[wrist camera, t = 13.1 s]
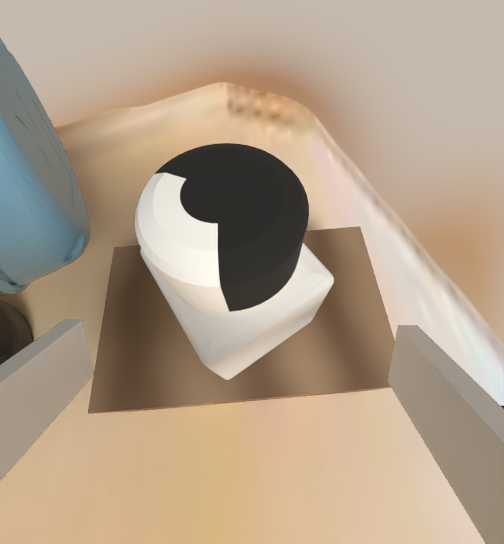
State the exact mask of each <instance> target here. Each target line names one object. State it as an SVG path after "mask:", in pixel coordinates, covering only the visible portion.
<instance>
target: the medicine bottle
mask: <svg viewBox="0 0 504 544" xmlns="http://www.w3.org/2000/svg"><path fill="white" fill-rule="evenodd" d="M308 217H309V204H308V199H307V195H306V192H305V190H304V187H303V185H302V183H301V182H300V180H299V178H298V177H297V176H296V175H295V173H294V172H293V171H292V170H291V169H290V168H289V167H288V166H286V165H285V164H284V163H283V162H282V161H281V160H279V159H278V158H276V157H275V156H273V155H271V154H270V153H268V152H266V151H263V150H261V149H258V148H255V147H251V146H247V145H241V144H230V143H223V144H212V145H206V146H202V147H198V148H195V149H192V150H189V151H186V152H184V153H182V154H180V155H178V156H176V157H175V158H173V159H171V160H170V161H168V162H167V163H166V164H165V165H163V166H162V167H161V168H160V169H159V170H158V171H157V172H156V173H155V174H154V175H153V176H152V178H151V179H150V180H149V181H148V183H147V185H146V187H145V188H144V190H143V192H142V194H141V196H140V198H139V201H138V203H137V207H136V212H135V231H136V236H137V239H138V242H139V244H140V246H141V250H140V253H141V256H142V258H143V260H144V261H145V263H146V265H147V267H148V268H149V270H150V272H151V274H152V275H153V277H154V279H155V281H156V282H157V284H158V286H159V288H160V289H161V291H162V293H163V295H164V296H165V298H166V300H167V302H168V303H169V305H170V307H171V309H172V310H173V312H174V314H175V316H176V317H177V319H178V321H179V323H180V324H181V326H182V328H183V330H184V331H185V333H186V335H187V337H188V338H189V340H190V342H191V344H192V345H193V347H194V349H195V351H196V352H197V354H198V356H199V358H200V359H201V361H202V363H203V364H204V365H205V366H206V367H207V368H209V369H210V370H212V371H213V372H215V373H216V374H218V375H219V376H221V377H222V378H224V379H225V380H229V379H231V378H233V377H234V376H236V375H237V374H238V373H240V372H241V371H243V370H244V369H245V368H247V367H248V366H250V365H251V364H252V363H254V362H255V361H257V360H258V359H259V358H261V357H262V356H264V355H265V354H266V353H268V352H269V351H271V350H272V349H273V348H275V347H276V346H278V345H279V344H280V343H282V342H283V341H285V340H286V339H287V338H289V337H290V336H292V335H293V334H294V333H296V332H297V331H299V330H300V329H301V328H303V327H304V326H306V325H307V324H309V323H310V322H311V321H312V319H313V317H314V316H315V314H316V312H317V310H318V309H319V307H320V305H321V304H322V302H323V300H324V299H325V297H326V295H327V293H328V292H329V290H330V288H331V287H332V285H333V283H334V277H333V275H332V274H331V273H330V272H329V271H328V270H327V269H326V267H325V266H324V265H323V264H322V263H321V262H320V261H319V260H318V259H317V257H316V256H315V255H314V254H313V253H312V252H311V251H310V250H309V249H308V247H307V246H306V245H305V244H304V243H303V240H304V236H305V232H306V228H307V223H308Z"/></svg>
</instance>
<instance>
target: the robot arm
mask: <svg viewBox="0 0 504 544" xmlns="http://www.w3.org/2000/svg"><path fill="white" fill-rule="evenodd" d="M89 236H90V222H89V216H88V211H87V207H86V203H85V200H84V197H83V194H82V191H81V188H80V185H79V183H78V180H77V177H76V175H75V173H74V170H73V168H72V165H71V163H70V161H69V158H68V156H67V154H66V152H65V150H64V147H63V145H62V143H61V141H60V139H59V137H58V135H57V133H56V131H55V129H54V127H53V125H52V123H51V121H50V119H49V117H48V115H47V113H46V111H45V109H44V107H43V106H42V104H41V102H40V100H39V98H38V96H37V95H36V93H35V91H34V89H33V88H32V86H31V84H30V82H29V80H28V79H27V77H26V75H25V74H24V72H23V70H22V69H21V67H20V66H19V64H18V62H17V61H16V59H15V58H14V56H13V55H12V54H11V53H10V52H9V51H8V50H7V48H6V46H5V45H4V43H3V42H2V40H1V38H0V296H1V295H3V294H5V293H6V294H8V293H9V294H15V293H19V292H21V291H23V290H25V288H26V287H27V286H28V285H29V284H30V283H31V282H33V281H35V280H37V279H39V278H41V277H43V276H45V275H47V274H49V273H51V272H53V271H55V270H57V269H59V268H62V267H64V266H66V265H68V264H70V263H71V262H73V261H74V260H76V259H77V258H78V257H79V256H80V255H81V254H82V253H83V251H84V250H85V248H86V246H87V244H88V241H89ZM93 375H94V370H93V366H92V361H91V357H90V353H89V348H88V344H87V340H86V335H85V331H84V327H83V322H82V320H64V321H62V322H61V323H59V324H58V325H56V326H55V327H54V328H52V329H51V330H49V331H48V332H46V333H45V334H44V335H42V336H41V337H39V338H38V339H37V340H35V341H34V342H33V341H32V335H31V331H30V328H29V325H28V323H27V321H26V320H25V318H24V317H23V315H22V314H21V313H20V312H19V311H18V310H17V309H16V308H14V307H13V306H11V305H9V304H7V303H5V302H2V301H0V481H1V480H2V479H3V478H4V477H5V476H6V474H7V473H8V472H9V471H10V470H11V469H12V468H13V466H14V465H15V464H16V463H17V462H18V461H19V460H20V458H21V457H22V456H23V455H24V454H25V453H26V452H27V450H28V449H29V448H30V447H31V446H32V445H33V443H34V442H35V441H36V440H37V439H38V438H39V437H40V435H41V434H42V433H43V432H44V431H45V430H46V429H47V427H48V426H49V425H50V424H51V423H52V422H53V421H54V419H55V418H56V417H57V416H58V415H59V414H60V413H61V411H62V410H63V409H64V408H65V407H66V406H67V405H68V403H69V402H70V401H71V400H72V399H73V398H74V397H75V395H76V394H77V393H78V392H79V391H80V390H81V389H82V387H83V386H84V385H85V384H86V383H87V382H88V381H89V379H90V378H91V377H92V376H93ZM388 383H389V384H390V386H391V388H392V389H393V391H394V393H395V394H396V396H397V398H398V399H399V401H400V403H401V404H402V406H403V408H404V409H405V411H406V413H407V414H408V416H409V418H410V419H411V421H412V423H413V424H414V426H415V427H416V429H417V431H418V432H419V434H420V436H421V437H422V439H423V441H424V442H425V444H426V446H427V447H428V449H429V451H430V452H431V454H432V456H433V457H434V459H435V461H436V462H437V464H438V466H439V467H440V469H441V471H442V472H443V474H444V475H445V477H446V479H447V480H448V482H449V484H450V485H451V487H452V489H453V490H454V492H455V494H456V495H457V497H458V499H459V500H460V502H461V504H462V505H463V507H464V509H465V510H466V512H467V514H468V515H469V517H470V519H471V520H472V522H473V523H474V525H475V527H476V528H477V530H478V532H479V533H480V535H481V537H482V538H483V540H484V542H485V543H486V544H504V406H500V405H499V404H498V403H497V402H496V401H495V400H494V399H493V398H492V397H491V396H490V395H489V394H488V393H487V392H486V391H485V390H484V389H483V388H481V387H480V386H479V385H478V384H477V383H476V382H475V381H474V380H473V379H472V378H471V377H470V376H469V375H468V374H467V373H466V372H465V371H464V370H463V369H462V368H461V367H460V366H459V365H458V364H457V363H456V362H455V361H454V360H452V359H451V358H450V357H449V356H448V355H447V354H446V353H445V352H444V351H443V350H442V349H441V348H440V347H439V346H438V345H437V344H436V343H435V342H434V341H433V340H432V339H431V338H430V337H429V336H428V335H427V334H426V333H425V332H424V331H422V330H421V329H420V328H419V327H418V326H409V325H398V328H397V333H396V339H395V344H394V349H393V355H392V360H391V366H390V371H389V376H388Z"/></svg>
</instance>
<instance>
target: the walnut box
mask: <svg viewBox="0 0 504 544" xmlns="http://www.w3.org/2000/svg"><path fill="white" fill-rule="evenodd" d="M303 243H304V244H305V245H306V246H307V247H308V249H309V250H310V251H311V252H312V253H313V254H314V255H315V256H316V257H317V259H318V260H319V261H320V262H321V263H322V264H323V265H324V266H325V267H326V269H327V270H328V271H329V272H330V273H331V274H332V275H333V277H334V283H333V285H332V287H331V288H330V290H329V292H328V293H327V295H326V297H325V299H324V300H323V302H322V304H321V305H320V307H319V309H318V310H317V312H316V314H315V316H314V317H313V319H312V321H311V322H310V323H309V324H307V325H306V326H304V327H303V328H301V329H300V330H299V331H297V332H296V333H294V334H293V335H292V336H290V337H289V338H287V339H286V340H285V341H283V342H282V343H280V344H279V345H278V346H276V347H275V348H273V349H272V350H271V351H269V352H268V353H266V354H265V355H264V356H262V357H261V358H259V359H258V360H257V361H255V362H254V363H252V364H251V365H250V366H248V367H247V368H245V369H244V370H243V371H241V372H240V373H238V374H237V375H236V376H234V377H233V378H231V379H229V380H225V379H224V378H222V377H221V376H219V375H218V374H216V373H215V372H213V371H212V370H210V369H209V368H207V367H206V366H205V365H204V364H203V363H202V361H201V359H200V358H199V356H198V354H197V352H196V351H195V349H194V347H193V345H192V344H191V342H190V340H189V338H188V337H187V335H186V333H185V331H184V330H183V328H182V326H181V324H180V323H179V321H178V319H177V317H176V316H175V314H174V312H173V310H172V309H171V307H170V305H169V303H168V302H167V300H166V298H165V296H164V295H163V293H162V291H161V289H160V288H159V286H158V284H157V282H156V281H155V279H154V277H153V275H152V274H151V272H150V270H149V268H148V267H147V265H146V263H145V261H144V260H143V258H142V256H141V253H140V250H141V246H140V245H139V246H127V247H115V248H114V254H113V260H112V266H111V272H110V278H109V285H108V291H107V297H106V303H105V309H104V316H103V322H102V328H101V334H100V341H99V347H98V353H97V359H96V365H95V372H94V378H93V384H92V390H91V396H90V403H89V409H88V413H108V412H128V411H142V410H153V409H165V408H176V407H187V406H198V405H210V404H221V403H232V402H244V401H255V400H266V399H278V398H289V397H300V396H312V395H323V394H334V393H345V392H357V391H368V390H376V389H383V388H391V386H390V384H389V383H388V376H389V371H390V366H391V360H392V355H393V349H394V344H395V341H394V337H393V334H392V331H391V327H390V324H389V321H388V317H387V314H386V311H385V308H384V304H383V301H382V298H381V294H380V291H379V288H378V285H377V281H376V278H375V275H374V271H373V268H372V265H371V261H370V258H369V255H368V252H367V248H366V245H365V242H364V238H363V235H362V232H361V228H360V227H348V228H337V229H325V230H313V231H306V232H305V236H304V240H303Z"/></svg>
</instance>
